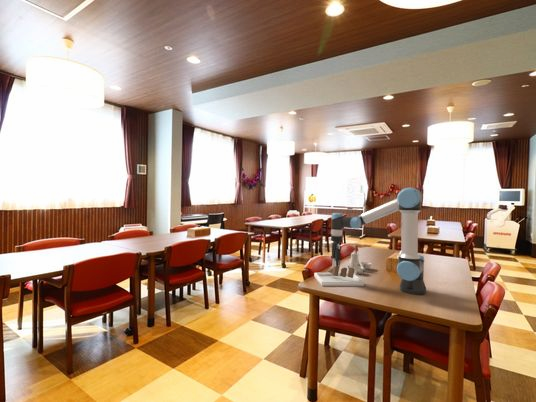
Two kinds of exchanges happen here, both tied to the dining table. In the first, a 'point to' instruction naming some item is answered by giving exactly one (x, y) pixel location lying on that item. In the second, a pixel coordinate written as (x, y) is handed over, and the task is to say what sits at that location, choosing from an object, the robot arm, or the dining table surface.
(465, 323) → the dining table surface
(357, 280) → the pocket tray
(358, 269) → the chinaware
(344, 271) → the wooden block set
